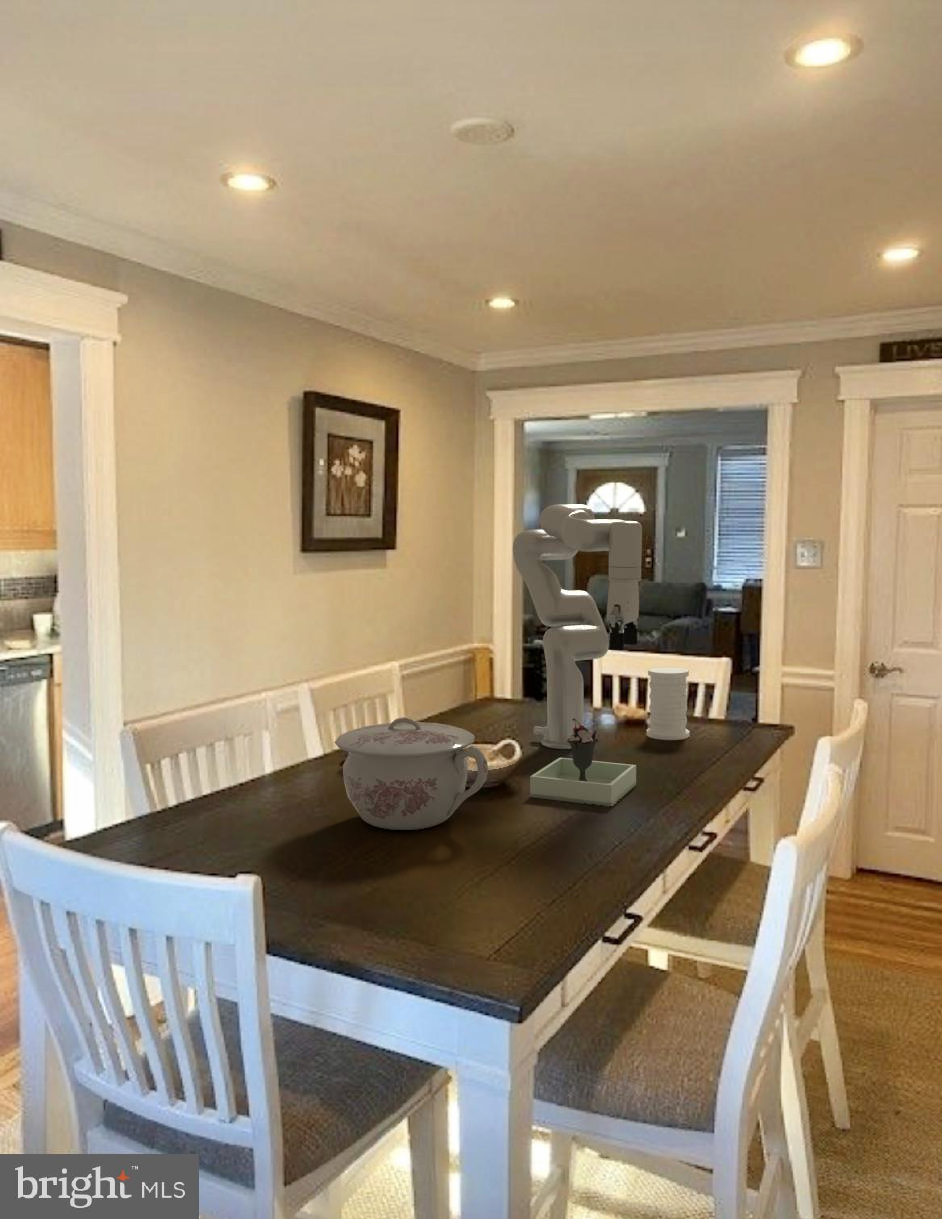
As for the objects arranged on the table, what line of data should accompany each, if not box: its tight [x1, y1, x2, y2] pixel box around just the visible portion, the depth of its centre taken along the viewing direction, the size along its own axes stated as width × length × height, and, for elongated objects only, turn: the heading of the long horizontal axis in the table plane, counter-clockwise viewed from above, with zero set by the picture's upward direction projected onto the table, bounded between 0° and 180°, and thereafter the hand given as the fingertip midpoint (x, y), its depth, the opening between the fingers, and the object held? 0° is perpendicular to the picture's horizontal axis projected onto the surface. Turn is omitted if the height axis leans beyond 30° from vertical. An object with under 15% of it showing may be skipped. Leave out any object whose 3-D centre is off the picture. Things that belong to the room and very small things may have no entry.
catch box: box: [529, 757, 637, 807], centre depth 209 cm, size 18×18×4 cm
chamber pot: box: [334, 717, 489, 831], centre depth 189 cm, size 28×28×21 cm
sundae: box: [567, 718, 599, 782], centre depth 211 cm, size 7×7×15 cm
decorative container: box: [646, 666, 691, 741], centre depth 262 cm, size 12×12×18 cm
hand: (623, 647), depth 226 cm, fingers open, 9 cm apart
